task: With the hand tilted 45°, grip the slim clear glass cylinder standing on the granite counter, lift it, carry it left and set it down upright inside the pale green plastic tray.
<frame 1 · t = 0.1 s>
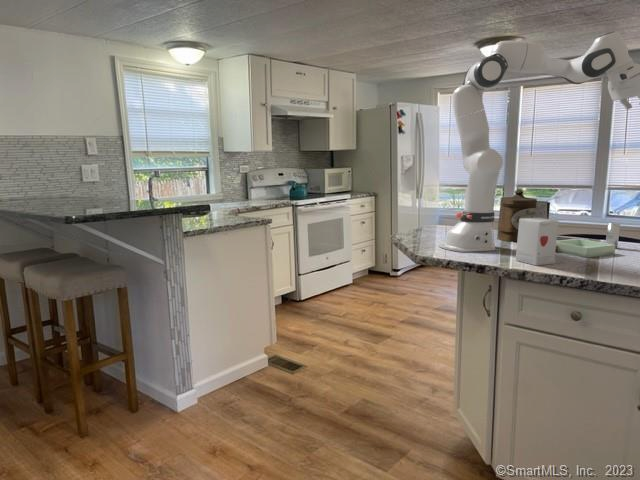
hand: (636, 107, 176), 54 cm above the counter, tool tilted 30°, fingers open, 8 cm apart
clear glass cylinder: (611, 247, 188), on the counter
tray: (581, 252, 179), on the counter
wooden scoop: (548, 251, 180), on the counter
coffee box: (537, 236, 215), on the counter
wooden container: (515, 240, 206), on the counter
supplement box: (534, 262, 161), on the counter
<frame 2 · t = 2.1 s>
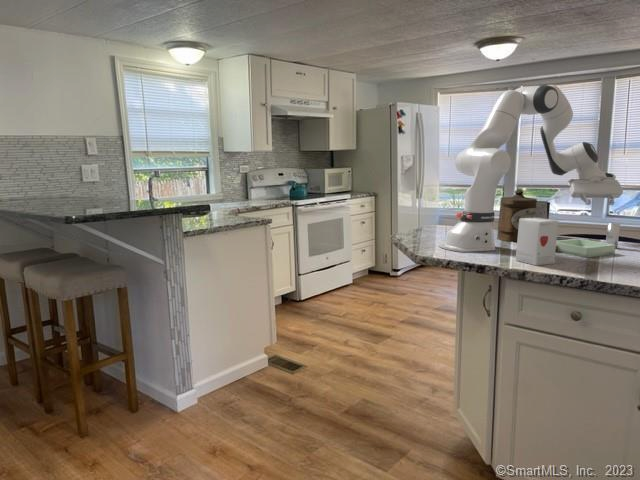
hand: (600, 204, 197), 16 cm above the counter, tool tilted 45°, fingers open, 8 cm apart
nothing on the counter moved.
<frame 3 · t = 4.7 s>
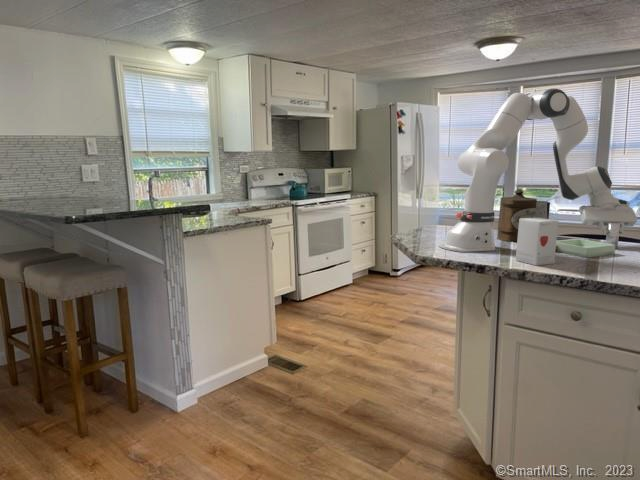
hand: (613, 233, 186), 6 cm above the counter, tool tilted 45°, fingers closed on clear glass cylinder, 4 cm apart
clear glass cylinder: (611, 247, 188), on the counter, touching gripper
everything else where it was.
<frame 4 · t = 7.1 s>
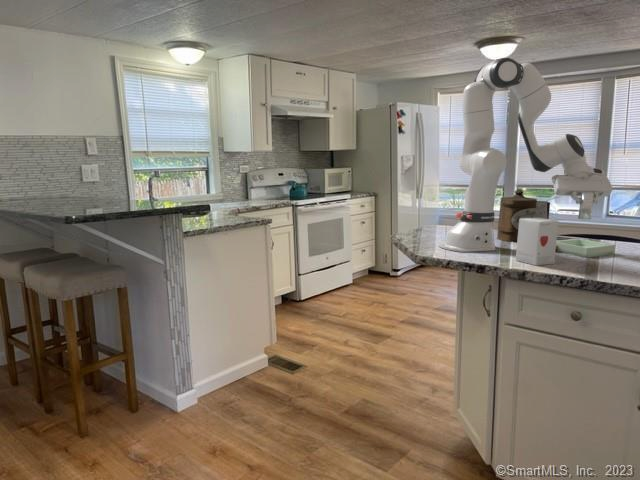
hand: (587, 202, 175), 19 cm above the counter, tool tilted 45°, fingers closed on clear glass cylinder, 4 cm apart
clear glass cylinder: (584, 218, 177), point 13 cm above the counter, touching gripper
everything else where it was.
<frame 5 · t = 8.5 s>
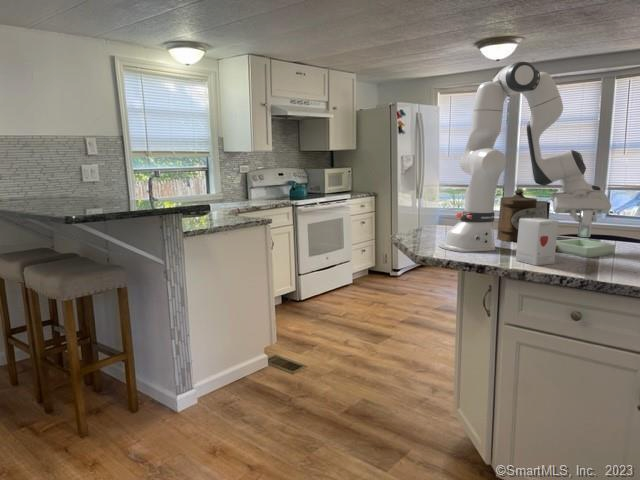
hand: (586, 220, 176), 12 cm above the counter, tool tilted 45°, fingers closed on clear glass cylinder, 4 cm apart
clear glass cylinder: (584, 236, 178), point 6 cm above the counter, touching gripper
everything else where it was.
when the fingers open (8 cm above the counter, at t = 9.6 s): clear glass cylinder drops 1 cm, resting on tray.
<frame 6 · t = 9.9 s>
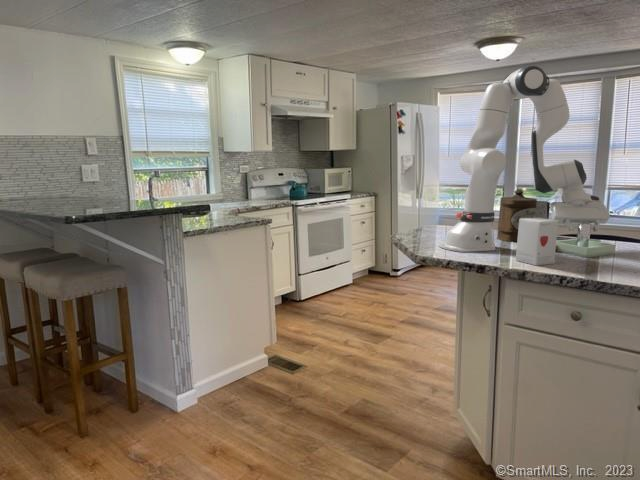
hand: (584, 230, 177), 8 cm above the counter, tool tilted 45°, fingers open, 7 cm apart
clear glass cylinder: (581, 249, 179), point 1 cm above the counter, touching tray
everything else where it was.
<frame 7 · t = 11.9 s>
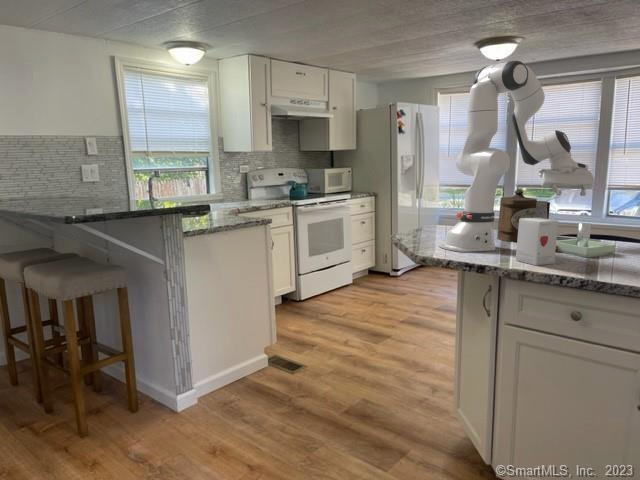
hand: (571, 194, 189), 21 cm above the counter, tool tilted 45°, fingers open, 8 cm apart
nothing on the counter moved.
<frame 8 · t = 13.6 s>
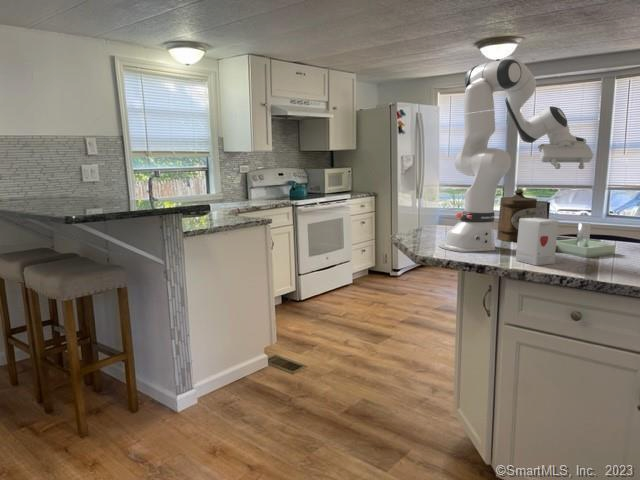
hand: (570, 168, 192), 31 cm above the counter, tool tilted 45°, fingers open, 8 cm apart
nothing on the counter moved.
at the end: clear glass cylinder inside the target area on the tray (0.1 cm from its centre), point 1.0 cm above the tray's base; clear glass cylinder tilted 0°; the gripper is holding nothing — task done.
